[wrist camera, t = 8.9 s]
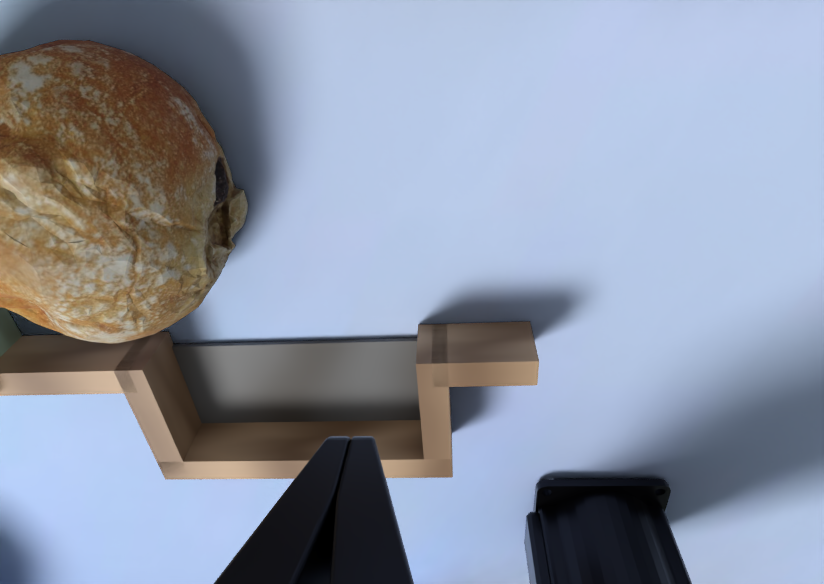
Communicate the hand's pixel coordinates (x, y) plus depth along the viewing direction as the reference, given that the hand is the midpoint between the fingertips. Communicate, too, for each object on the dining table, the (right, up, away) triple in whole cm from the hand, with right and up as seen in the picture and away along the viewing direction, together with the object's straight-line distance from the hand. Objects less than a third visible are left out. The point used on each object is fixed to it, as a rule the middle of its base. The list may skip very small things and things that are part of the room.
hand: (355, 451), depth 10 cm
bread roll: (-10, +7, +11) cm, 16 cm away
